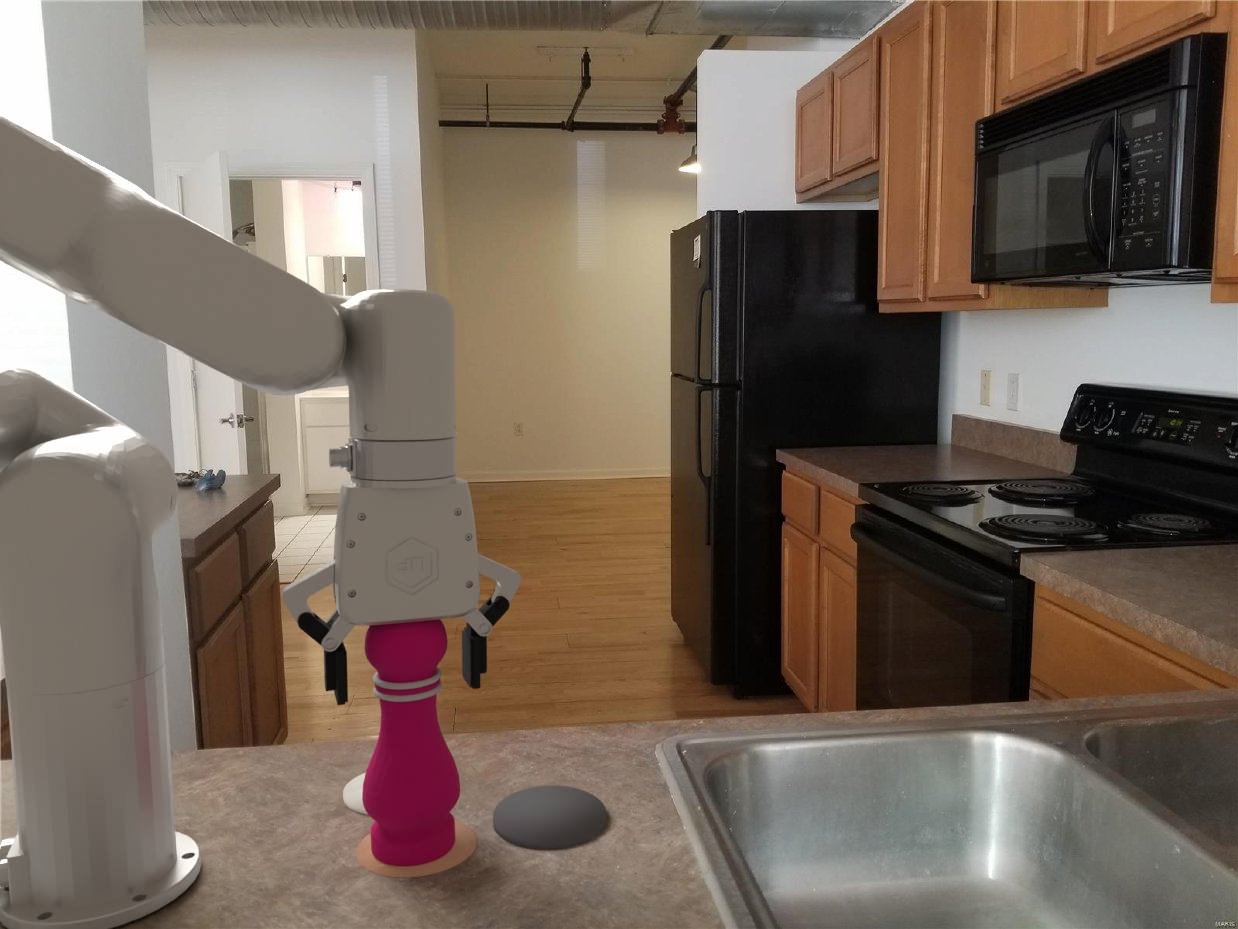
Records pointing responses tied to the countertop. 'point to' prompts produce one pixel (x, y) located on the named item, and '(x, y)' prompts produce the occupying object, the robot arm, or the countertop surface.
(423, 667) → the pepper mill
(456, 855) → the peach oval dome
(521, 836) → the dark gray oval dome
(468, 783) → the countertop surface
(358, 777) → the cream oval dome
